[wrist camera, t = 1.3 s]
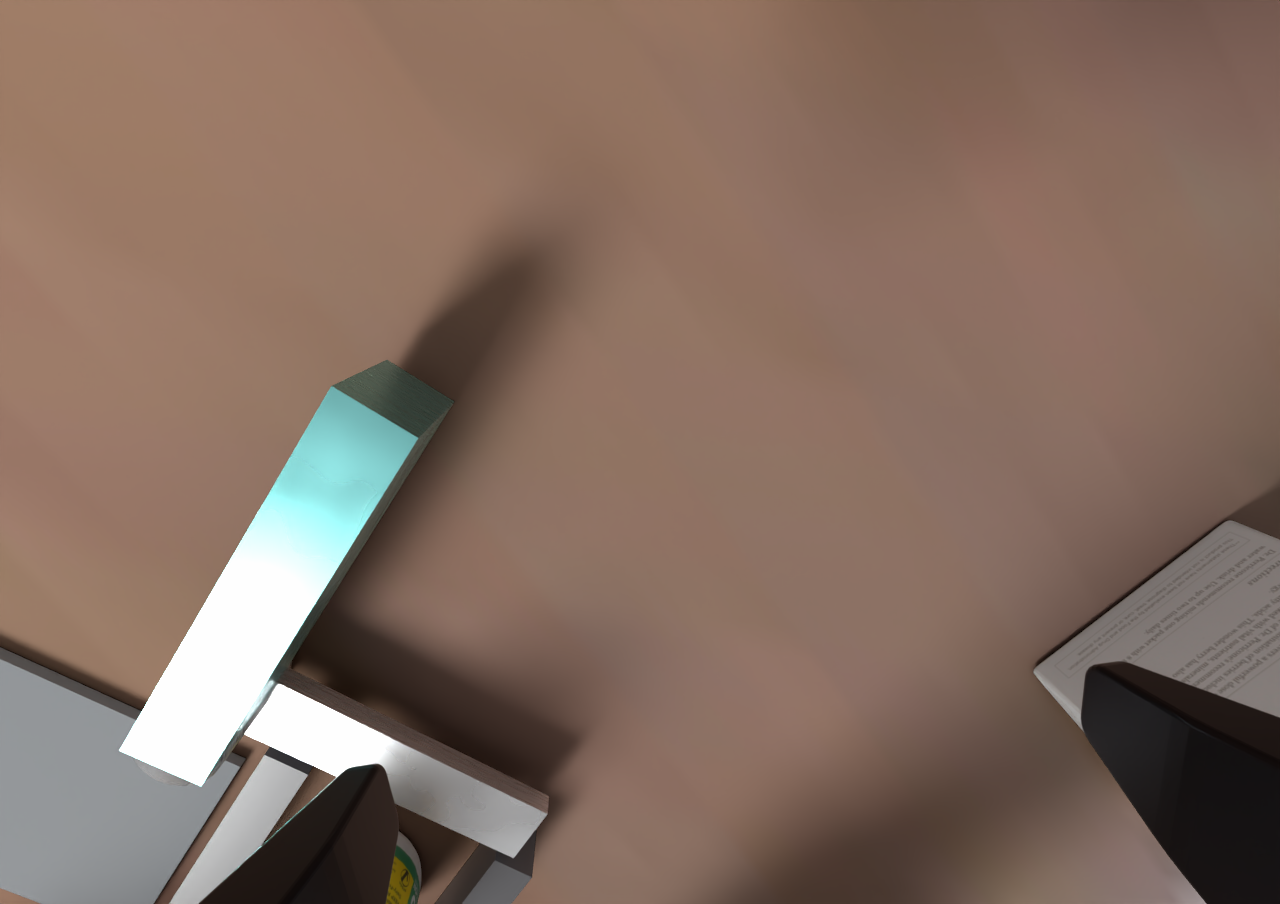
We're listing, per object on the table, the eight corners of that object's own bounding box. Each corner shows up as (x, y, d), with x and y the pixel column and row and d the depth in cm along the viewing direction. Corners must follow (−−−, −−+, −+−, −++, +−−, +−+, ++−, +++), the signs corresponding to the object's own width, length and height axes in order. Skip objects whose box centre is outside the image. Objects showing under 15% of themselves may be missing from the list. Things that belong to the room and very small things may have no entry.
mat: (245, 758, 23) (240, 766, 23) (139, 927, 25) (131, 937, 25) (-17, 639, 21) (-28, 646, 21) (-113, 831, 23) (-125, 840, 23)
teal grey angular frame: (717, 556, 22) (751, 637, 17) (517, 818, 25) (499, 952, 20) (391, 354, 20) (327, 383, 15) (204, 668, 22) (96, 781, 17)
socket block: (536, 830, 25) (531, 877, 23) (405, 999, 27) (391, 1055, 25) (292, 713, 23) (264, 754, 21) (168, 906, 25) (132, 959, 23)
